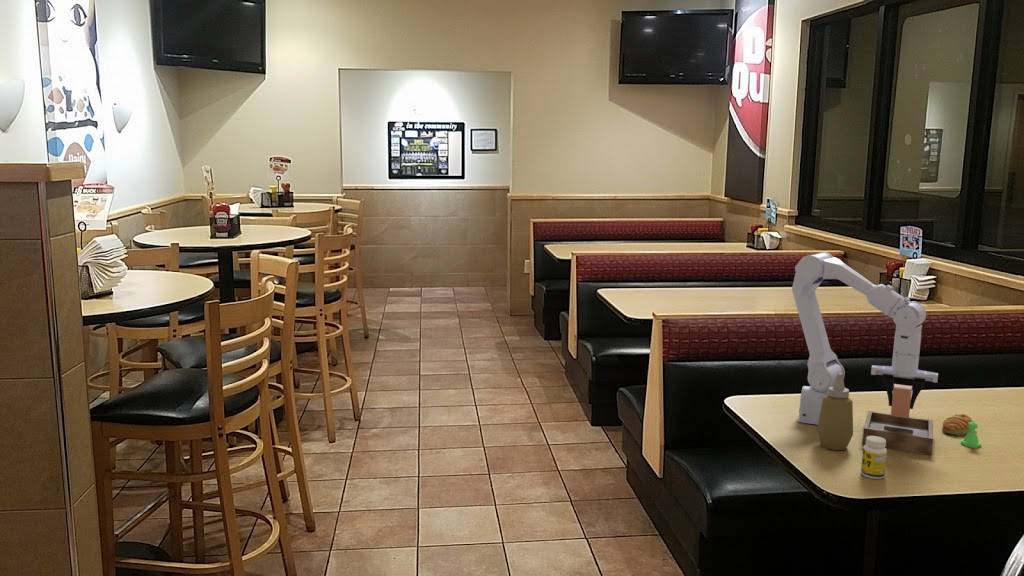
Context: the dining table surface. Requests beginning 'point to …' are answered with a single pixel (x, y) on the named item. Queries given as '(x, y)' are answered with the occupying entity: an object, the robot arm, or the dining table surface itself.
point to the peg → (901, 401)
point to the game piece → (971, 436)
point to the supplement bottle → (874, 457)
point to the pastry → (957, 424)
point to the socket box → (900, 432)
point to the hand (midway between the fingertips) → (900, 406)
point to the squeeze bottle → (836, 417)
